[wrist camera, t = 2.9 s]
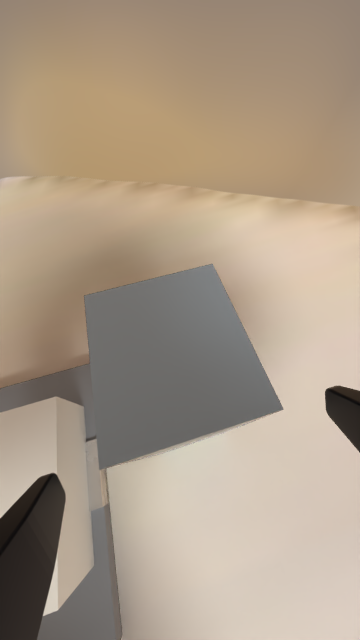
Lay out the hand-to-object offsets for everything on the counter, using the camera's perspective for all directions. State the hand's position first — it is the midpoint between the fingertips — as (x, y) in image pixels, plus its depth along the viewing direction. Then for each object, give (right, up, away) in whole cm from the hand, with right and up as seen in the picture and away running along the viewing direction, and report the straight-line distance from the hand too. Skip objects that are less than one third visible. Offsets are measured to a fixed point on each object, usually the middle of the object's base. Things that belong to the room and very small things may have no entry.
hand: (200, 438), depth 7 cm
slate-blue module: (0, -2, +9) cm, 9 cm away
